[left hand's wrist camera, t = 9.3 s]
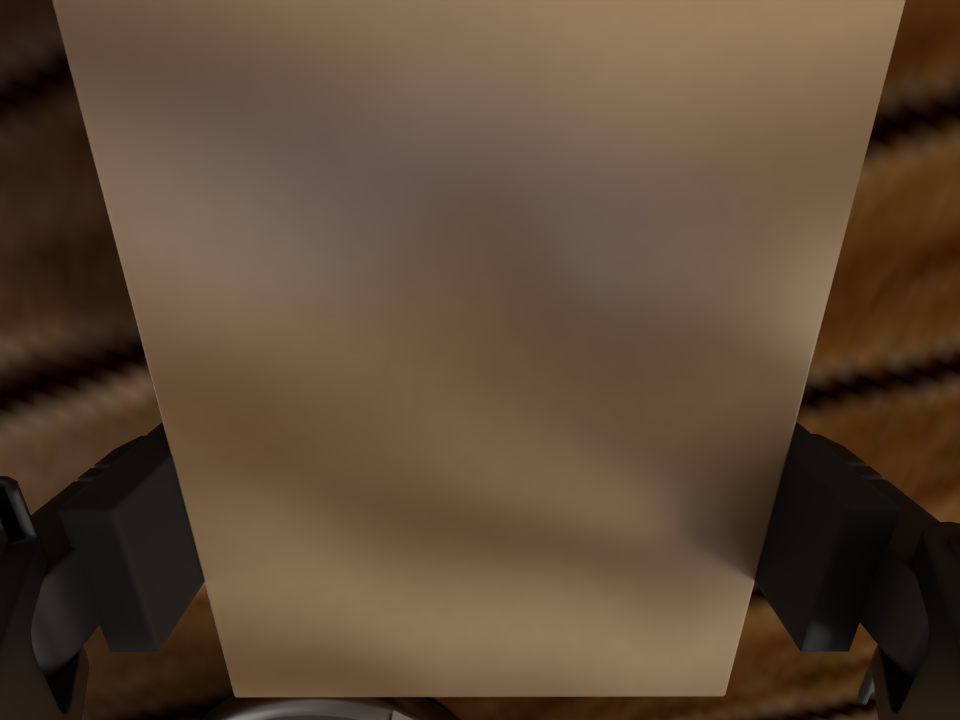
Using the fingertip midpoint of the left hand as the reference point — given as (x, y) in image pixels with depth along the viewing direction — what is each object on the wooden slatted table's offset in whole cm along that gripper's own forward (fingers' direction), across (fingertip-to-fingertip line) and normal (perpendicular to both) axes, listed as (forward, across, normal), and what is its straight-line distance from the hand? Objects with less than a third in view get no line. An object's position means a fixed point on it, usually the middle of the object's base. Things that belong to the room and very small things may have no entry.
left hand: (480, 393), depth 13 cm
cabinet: (+4, 0, -6) cm, 8 cm away
